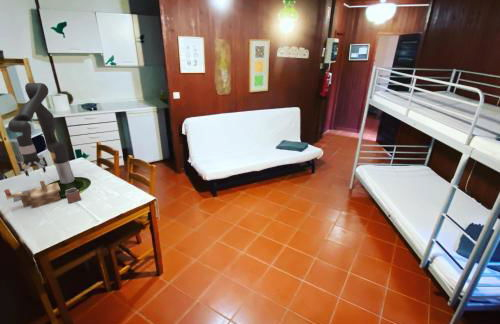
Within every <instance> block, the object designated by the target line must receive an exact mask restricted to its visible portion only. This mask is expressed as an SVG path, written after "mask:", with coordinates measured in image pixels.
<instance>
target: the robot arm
mask: <svg viewBox="0 0 500 324" xmlns="http://www.w3.org/2000/svg"><path fill="white" fill-rule="evenodd" d="M24 88H25V93H26V96H27V98H28V99H29V100H27V101H26V102H25V103H24V104H22V106H21V107H20V108H19V110H18V113H17V114H16V115H15V116H14V117H13V118H11V119H10V121H9V122H8V124H7V125H8V126H7V127H8V130H9V131H10V132H12V133H22V135H19V136H17V137H16V141H17V145H18V149H19V151H20V154H21V156H22V160H23V161H17V164H18V169H19V171H20V172H24V174H25V176H26V177H30V175H29V171H28V170H29V168H30V167H31V168H32V167H37V166H39V167H41V168H42V171H43V173H44V174H45V173H46V172H47V169H46V167H48V162H47V160H46V157H45V156H42V157H40V156H38V153H37V149H36V146H35V145H34V142H33V139H32V125H31V123H29V122H30V121H32V119H33V118H34V115H36V119H37V121H38V124H39V126H40V128H41V132H42V134H43V137H44V141H45V146H46V149H47V151H48V152H50V153H52V154H54V156H55V157H54V158H53V163H54V166H55V170H56V172H57V176H58V179H59V182H60V183H61V184H64V185H66V184H71V183H73V182H75V181H76V179H75V175H74V173H73V170H72V167H71V164H70V160H69V156H70V155H69V151H68V147H67V145H66V144H65V142H62V141H58V139H57V137H56V134H55V133H56V120H55V116H54V115H53V113H52V112H51V111H50V110H49V109H48V108H47V107H46V105H44V104H43V102H44V100H45V99H46V98H47V97H48V94H49V88H48V86H47V85H46V84H45V83H42V82H27V83H26V84H25V86H24ZM40 161H42V162H43V163H44V164H43V163H42V162H40ZM23 165H25V166H24V168H23V167H22V166H23ZM74 180H75V181H74Z"/></svg>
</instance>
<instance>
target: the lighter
mask: <svg viewBox="0 0 500 324" xmlns="http://www.w3.org/2000/svg"><path fill="white" fill-rule="evenodd" d="M64 194H65V196H66V200H67V204H73V203H76V202H79V201H82V197H81V193H80V189H77V188H76V187H71V188H69V189H66V190H65V193H64Z"/></svg>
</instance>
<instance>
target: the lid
mask: <svg viewBox="0 0 500 324" xmlns="http://www.w3.org/2000/svg"><path fill="white" fill-rule="evenodd" d="M39 183H40V184H39V185H40V186H38V187H36V188H35V187H34V188H31V189H28V190H29V191H30V195H31V198H32V199H33V198H36V197H40V196H43V195H47V194H51V193H54V192H61V188H60V186H59V183H58V182H53V183H49V184H46V183H45V180H40V181H39Z"/></svg>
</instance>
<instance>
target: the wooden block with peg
mask: <svg viewBox="0 0 500 324" xmlns="http://www.w3.org/2000/svg"><path fill="white" fill-rule="evenodd" d="M3 192H4V193H5V198H6V200H11V199H13V198H15V197H19V196H23V193H22V192H23V191H19V192H14V193H11V191H10V189H9V188H7V189H4V190H3Z"/></svg>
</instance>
